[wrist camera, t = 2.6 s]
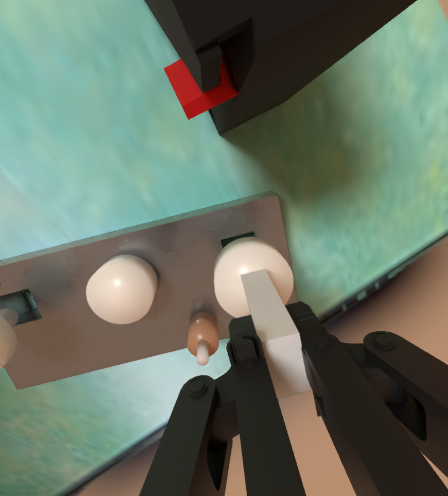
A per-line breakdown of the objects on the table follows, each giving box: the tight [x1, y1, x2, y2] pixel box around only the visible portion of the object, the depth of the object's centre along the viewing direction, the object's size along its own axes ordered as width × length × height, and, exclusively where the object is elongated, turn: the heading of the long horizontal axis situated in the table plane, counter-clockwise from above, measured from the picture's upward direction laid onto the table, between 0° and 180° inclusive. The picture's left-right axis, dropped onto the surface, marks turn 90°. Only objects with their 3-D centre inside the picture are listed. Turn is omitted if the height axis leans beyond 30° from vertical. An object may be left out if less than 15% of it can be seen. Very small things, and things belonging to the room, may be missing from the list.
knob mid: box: [86, 255, 158, 324], centre depth 25 cm, size 5×5×6 cm
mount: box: [0, 191, 298, 390], centre depth 27 cm, size 28×12×3 cm, turn 104°
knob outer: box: [214, 237, 293, 318], centre depth 21 cm, size 5×5×6 cm
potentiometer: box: [187, 312, 219, 365], centre depth 24 cm, size 3×3×5 cm
